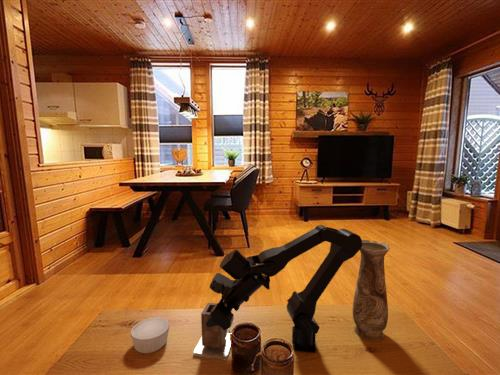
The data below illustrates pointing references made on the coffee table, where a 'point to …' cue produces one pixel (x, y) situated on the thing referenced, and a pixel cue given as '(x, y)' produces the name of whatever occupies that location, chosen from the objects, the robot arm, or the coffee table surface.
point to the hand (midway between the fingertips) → (210, 319)
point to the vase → (371, 292)
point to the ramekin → (150, 334)
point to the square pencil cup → (211, 330)
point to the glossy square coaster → (213, 350)
